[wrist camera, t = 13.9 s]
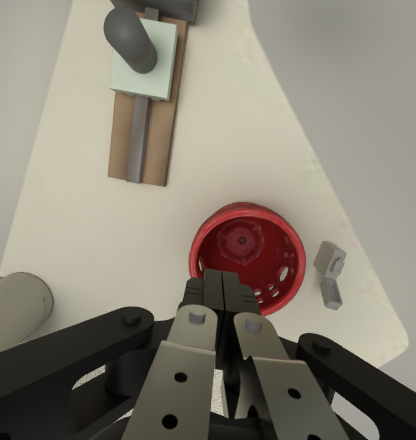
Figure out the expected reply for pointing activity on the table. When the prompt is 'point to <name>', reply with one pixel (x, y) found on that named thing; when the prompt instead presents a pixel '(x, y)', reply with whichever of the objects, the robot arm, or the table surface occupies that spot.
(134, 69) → the mint plate with knob
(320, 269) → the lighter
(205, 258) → the plant pot
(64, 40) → the table surface
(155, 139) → the rail
